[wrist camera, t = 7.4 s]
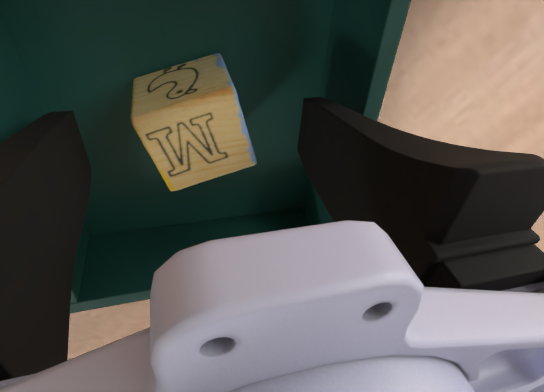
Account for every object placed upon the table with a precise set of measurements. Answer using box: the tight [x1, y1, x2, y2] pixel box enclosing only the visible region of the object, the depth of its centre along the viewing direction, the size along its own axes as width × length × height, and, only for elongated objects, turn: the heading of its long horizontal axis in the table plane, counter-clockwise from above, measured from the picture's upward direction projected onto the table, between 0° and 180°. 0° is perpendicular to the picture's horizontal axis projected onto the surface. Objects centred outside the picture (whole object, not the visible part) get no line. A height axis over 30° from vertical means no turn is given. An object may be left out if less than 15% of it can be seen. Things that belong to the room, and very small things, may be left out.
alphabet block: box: [131, 53, 257, 191], centre depth 12 cm, size 3×3×3 cm
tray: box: [0, 0, 411, 313], centre depth 12 cm, size 13×11×4 cm
